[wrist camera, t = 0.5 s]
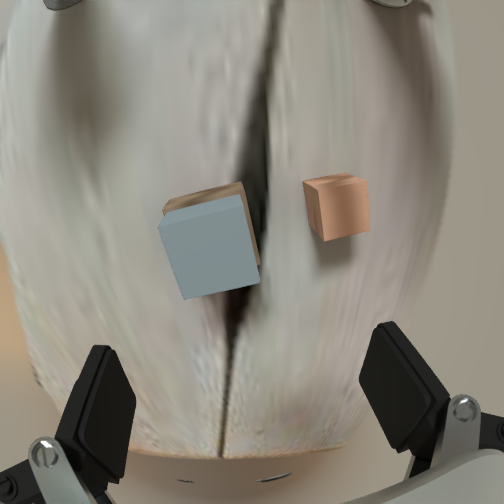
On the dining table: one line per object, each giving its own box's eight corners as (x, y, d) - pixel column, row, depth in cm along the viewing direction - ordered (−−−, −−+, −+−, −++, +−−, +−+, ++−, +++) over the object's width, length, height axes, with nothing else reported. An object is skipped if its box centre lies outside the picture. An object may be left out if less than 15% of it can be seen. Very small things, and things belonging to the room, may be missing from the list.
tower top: (239, 194, 29) (243, 205, 25) (254, 260, 33) (260, 282, 28) (167, 212, 29) (157, 227, 25) (188, 276, 33) (183, 299, 28)
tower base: (240, 181, 34) (244, 188, 29) (255, 247, 37) (260, 264, 33) (169, 199, 34) (162, 209, 29) (189, 263, 37) (186, 281, 33)
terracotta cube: (345, 172, 35) (366, 181, 29) (349, 215, 37) (370, 230, 32) (302, 180, 34) (317, 190, 29) (309, 224, 37) (324, 241, 31)
